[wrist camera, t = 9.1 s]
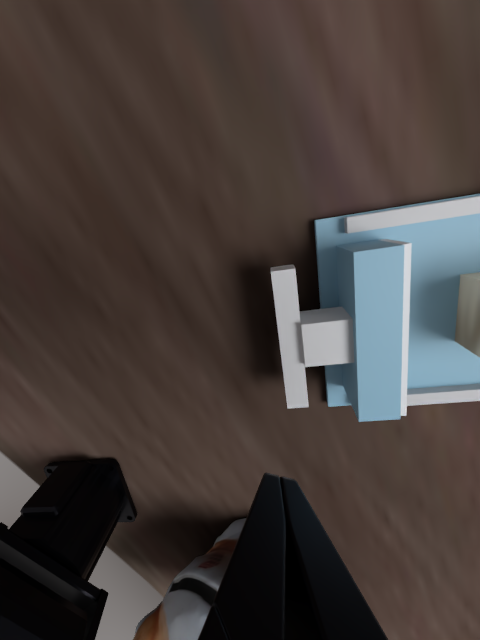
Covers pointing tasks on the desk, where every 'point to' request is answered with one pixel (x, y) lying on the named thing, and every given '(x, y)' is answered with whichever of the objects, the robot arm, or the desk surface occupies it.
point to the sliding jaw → (352, 329)
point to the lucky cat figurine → (191, 593)
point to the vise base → (416, 290)
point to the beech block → (469, 313)
